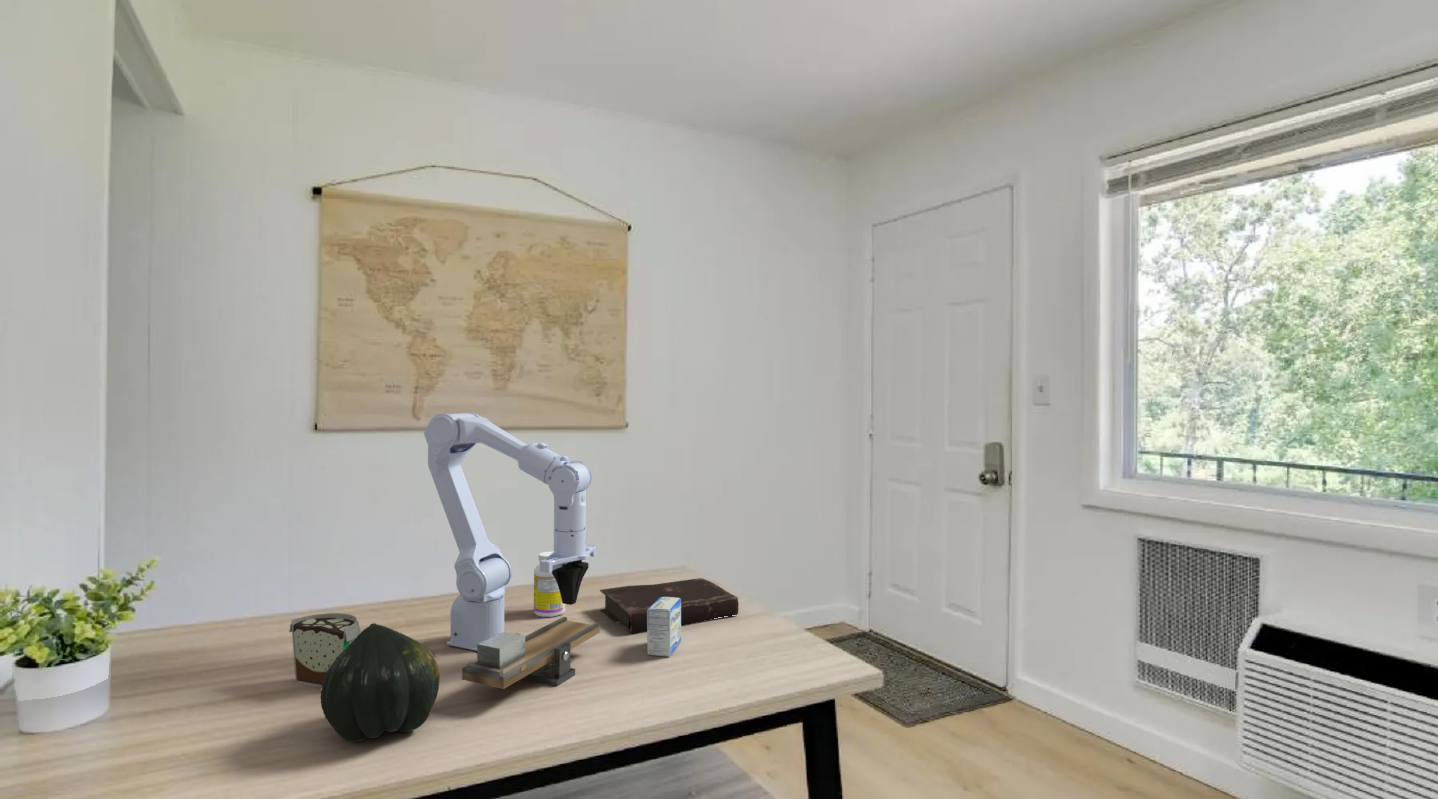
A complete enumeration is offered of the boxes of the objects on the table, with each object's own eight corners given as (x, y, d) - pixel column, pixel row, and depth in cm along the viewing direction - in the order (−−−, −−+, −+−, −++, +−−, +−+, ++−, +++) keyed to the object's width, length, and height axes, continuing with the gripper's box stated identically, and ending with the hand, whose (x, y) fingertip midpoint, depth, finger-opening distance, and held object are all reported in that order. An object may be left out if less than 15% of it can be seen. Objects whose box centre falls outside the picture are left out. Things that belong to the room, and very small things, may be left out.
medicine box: (670, 657, 126) (670, 610, 126) (646, 655, 127) (646, 608, 127) (681, 642, 134) (681, 597, 134) (658, 640, 135) (659, 595, 135)
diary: (739, 619, 150) (739, 596, 150) (630, 639, 138) (630, 613, 137) (698, 595, 166) (698, 574, 166) (598, 611, 154) (598, 588, 154)
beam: (461, 679, 108) (461, 664, 108) (563, 626, 132) (563, 613, 132) (504, 689, 104) (504, 673, 104) (600, 632, 128) (600, 619, 128)
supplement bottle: (542, 607, 154) (542, 549, 154) (570, 609, 153) (570, 550, 153) (528, 616, 148) (528, 556, 148) (557, 619, 146) (557, 558, 146)
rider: (477, 669, 109) (477, 644, 108) (503, 656, 114) (503, 631, 114) (499, 674, 107) (499, 648, 107) (525, 660, 112) (525, 635, 112)
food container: (377, 677, 116) (378, 617, 116) (347, 692, 110) (347, 628, 110) (321, 666, 120) (321, 608, 120) (288, 680, 114) (289, 619, 114)
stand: (498, 673, 118) (498, 640, 118) (517, 663, 123) (518, 631, 123) (557, 686, 113) (557, 651, 113) (575, 674, 118) (575, 641, 118)
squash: (422, 717, 91) (434, 607, 100) (295, 732, 87) (319, 617, 97) (440, 748, 101) (449, 646, 111) (327, 762, 98) (346, 656, 108)
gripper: (563, 538, 119) (562, 617, 120) (610, 524, 133) (609, 595, 133) (530, 534, 122) (529, 612, 122) (579, 520, 135) (578, 590, 136)
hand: (569, 603), depth 128 cm, fingers closed
